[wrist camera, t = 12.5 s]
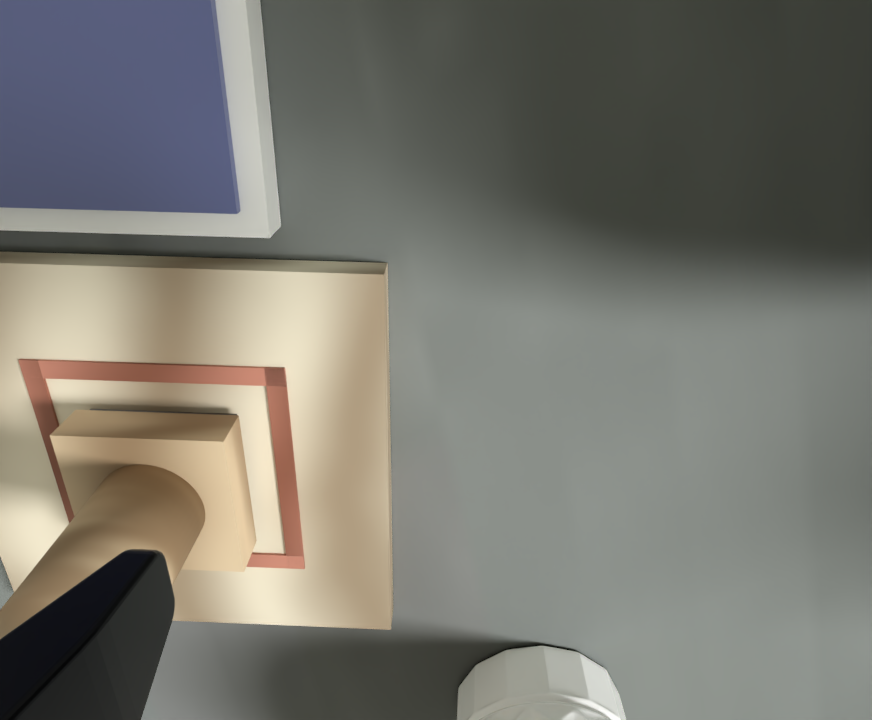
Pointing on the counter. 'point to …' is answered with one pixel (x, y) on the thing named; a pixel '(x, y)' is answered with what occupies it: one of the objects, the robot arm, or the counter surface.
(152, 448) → the stamp
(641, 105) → the counter surface
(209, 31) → the ink pad
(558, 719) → the white cup
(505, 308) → the counter surface
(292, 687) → the counter surface
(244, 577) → the board
